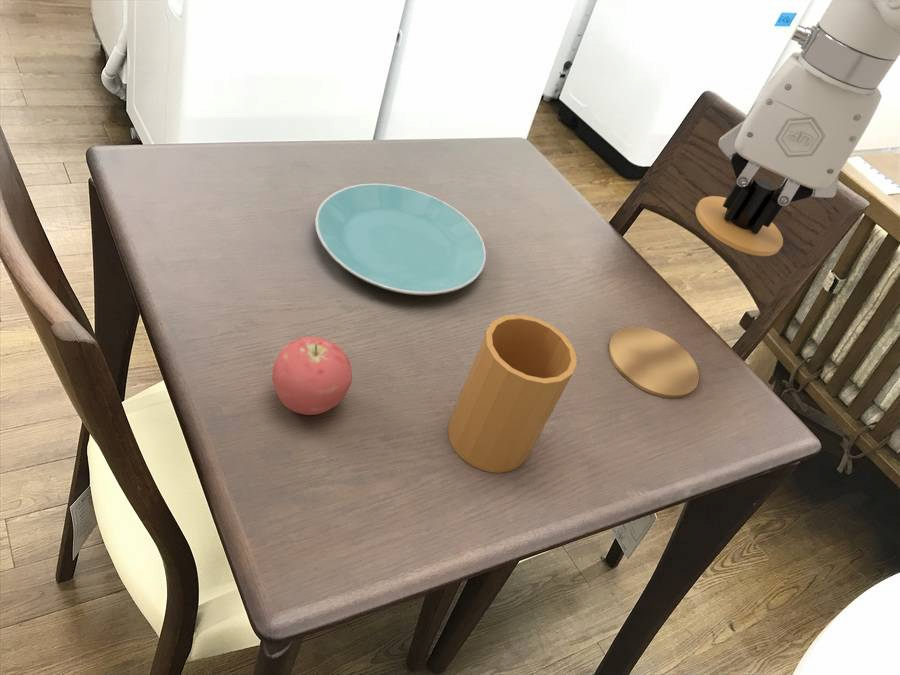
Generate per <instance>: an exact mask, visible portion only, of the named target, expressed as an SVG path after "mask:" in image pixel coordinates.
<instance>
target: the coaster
mask: <svg viewBox="0 0 900 675" xmlns="http://www.w3.org/2000/svg"><path fill="white" fill-rule="evenodd" d="M607 350H608V355H609V358H610V360H611V362H612V364H613V366H614V367H615V368H616V370H617V371H618V373H620V374H621V375H622V377H624V378H625V379H626V380H627V381H628V382H629V383H631V384H632V385H633V386H635V387H637V388H638V389H640V390H642V391H644V392H646V393H648V394H651V395H654V396H656V397H661V398H667V399H678V398H683V397H686V396H689V395H690V394H692V393H693V392H694V391H695V390H696V388H697V386H698V384H699V381H700V372H699V368H698V366H697V363H696V361H695V360H694V358H693V357H692V356H691V355H690V353H689V352H688V351H687V349H685V348H684V346H682V345H681V344H680V343H678V342H677V341H676V340H674V339H673V338H671V337H669V336H668V335H666V334H664V333H662V332H660V331H658V330H655V329H652V328H648V327H643V326H627V327H626V326H625V327H621V328H619V329H617V331H615V332H614V333H613V334H612V335H611V337H610V339H609V341H608V346H607Z"/></svg>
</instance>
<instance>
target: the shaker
mask: <svg viewBox="0 0 900 675" xmlns="http://www.w3.org/2000/svg"><path fill="white" fill-rule="evenodd" d="M577 365H578V359H577V354H576V350H575V348H574V346H573V344H572V343H571V342H570V341H569V339H568V337H567V336H566V335H565V334H564V333H563V332H561V331H560V330H559V329H557V328H556V327H555V326H554V325H552V324H550V323H548V322H545V321H544V320H543V319H540V318H538V317H535V316H534V317H533V316H529V315H524V314H509V315H502V316H501V317H499V318H497V319H495V320H493V321H492V322H491V323H490V325H489V326H488V328H487V330H486V331H485V334H484V336H483V338H482V341H481V343H480V346H479V348H478V351H477V353H476V354H475V358H474V360H473V363H472V365H471V367H470V370H469V372H468V374H467V377H466V379H465V382H464V383H463V387H462V389H461V391H460V394H459V396H458V399H457V401H456V403H455V406H454V408H453V411H452V413H451V416H450V418H449V421H448V425H447V436H448V440H449V443H450V445H451V446H452V448H453V450H454V451H455V453H456V454H457V455H458V456H459V457H460V458H461V459H462V460H463V461H465V462H466V463H468V464H469V465H470V466H472V467H474V468H476V469H479V470H481V471H485V472H487V473H496V474H497V473H498V474H499V473H508V472H511V471H513V470H516V469H517V468H519V467H520V466H522V465H523V464H524V463H525V461H526V460H527V458H528V457H529V456H530V453H531V452H532V450H533V448H534V446H535V444H536V442H537V440H538V438H539V437H540V435H541V433H542V431H543V429H544V428H545V426H546V424H547V423H548V420H549V419H550V416H551V414H552V413H553V411H554V409H555V407H556V405H557V404H558V402H559V400H560V398H561V397H562V395H563V393H564V391H565V390H566V387H567V385H568V383H569V382H570V380H571V378H572V376H573V375H574V373H575V370H576V367H577Z"/></svg>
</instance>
